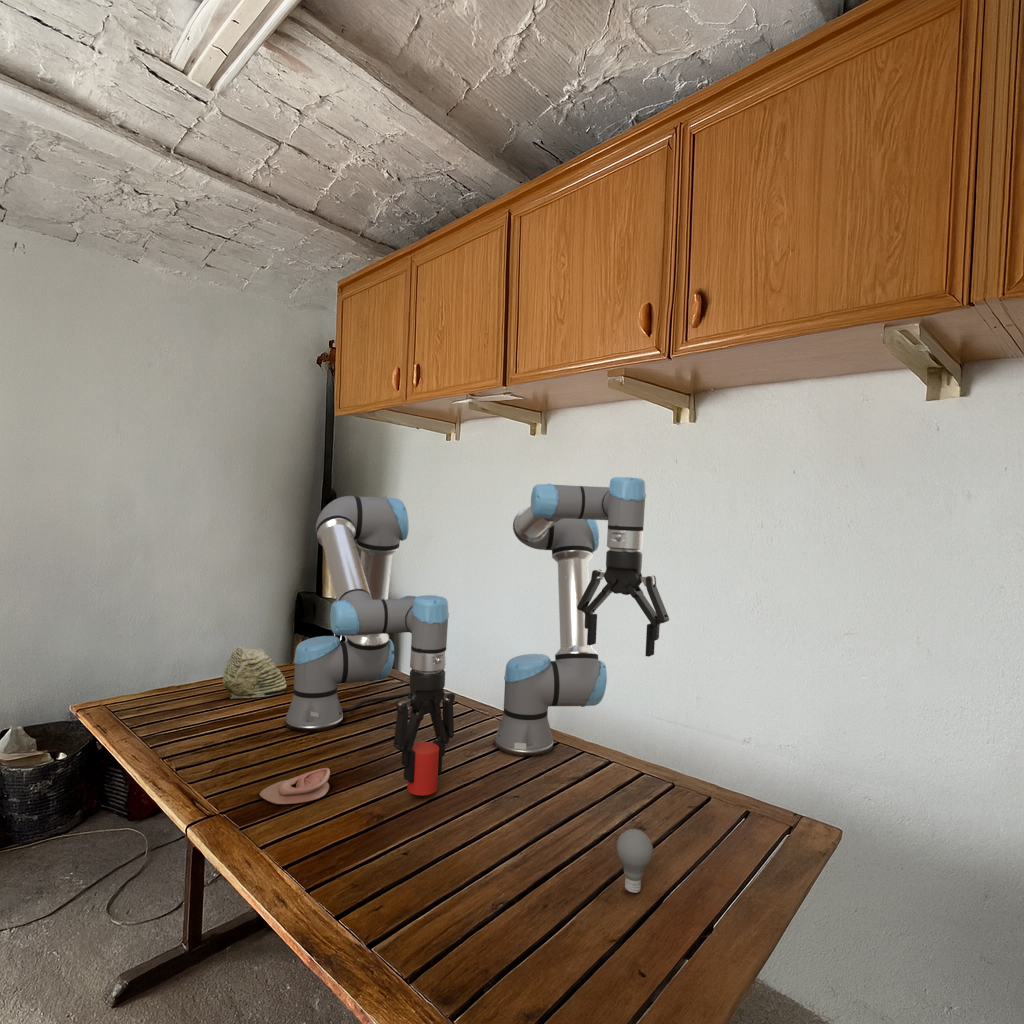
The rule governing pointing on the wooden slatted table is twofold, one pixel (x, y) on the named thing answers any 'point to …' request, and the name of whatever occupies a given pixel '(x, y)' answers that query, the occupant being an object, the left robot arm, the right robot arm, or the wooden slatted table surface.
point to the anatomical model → (298, 788)
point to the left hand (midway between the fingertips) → (422, 775)
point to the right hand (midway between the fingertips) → (619, 649)
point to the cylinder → (425, 769)
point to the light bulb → (634, 857)
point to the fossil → (252, 674)
